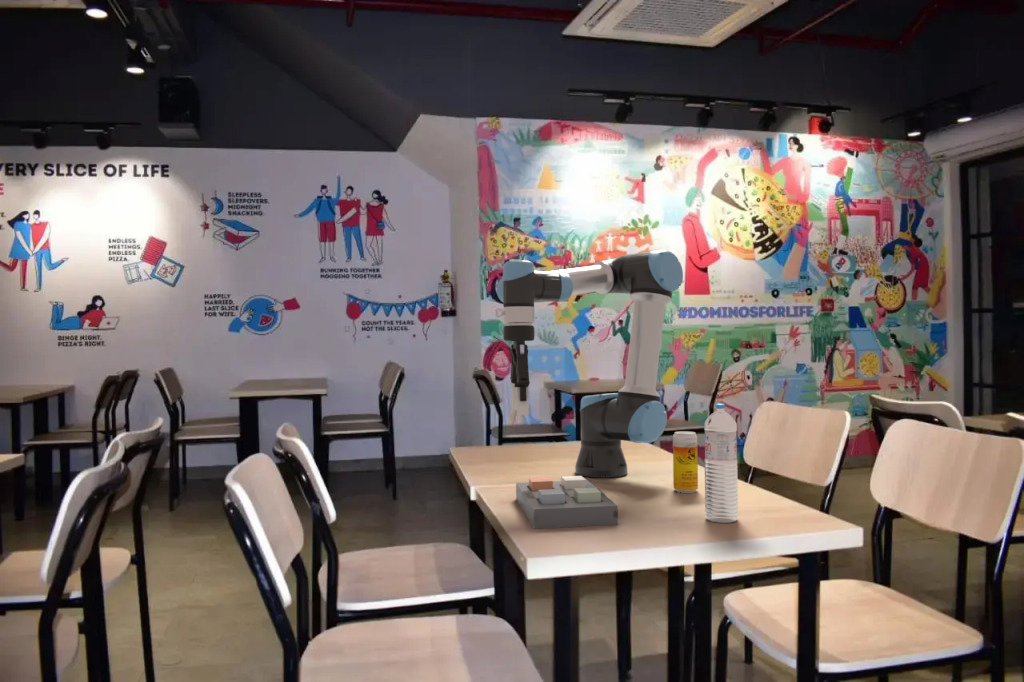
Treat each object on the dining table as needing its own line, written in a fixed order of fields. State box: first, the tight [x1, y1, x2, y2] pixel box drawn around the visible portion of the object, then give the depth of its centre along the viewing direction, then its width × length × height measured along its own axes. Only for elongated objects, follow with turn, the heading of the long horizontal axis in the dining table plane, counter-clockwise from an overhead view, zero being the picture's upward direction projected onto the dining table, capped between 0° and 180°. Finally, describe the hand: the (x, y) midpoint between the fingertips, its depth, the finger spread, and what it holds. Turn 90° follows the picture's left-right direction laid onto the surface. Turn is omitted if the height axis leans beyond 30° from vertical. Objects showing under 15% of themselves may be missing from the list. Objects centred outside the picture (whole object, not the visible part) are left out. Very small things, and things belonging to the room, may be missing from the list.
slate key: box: [538, 489, 565, 505], centre depth 158 cm, size 5×5×3 cm
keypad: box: [515, 479, 619, 529], centre depth 166 cm, size 18×28×4 cm, turn 7°
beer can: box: [672, 430, 699, 494], centre depth 185 cm, size 6×6×15 cm
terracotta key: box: [528, 476, 553, 491], centre depth 172 cm, size 5×5×3 cm
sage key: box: [574, 487, 602, 503], centre depth 159 cm, size 5×5×3 cm
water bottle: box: [703, 403, 739, 524], centre depth 156 cm, size 7×7×25 cm
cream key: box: [560, 475, 587, 490], centre depth 173 cm, size 5×5×3 cm
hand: (519, 412), depth 175 cm, fingers open, 13 cm apart
